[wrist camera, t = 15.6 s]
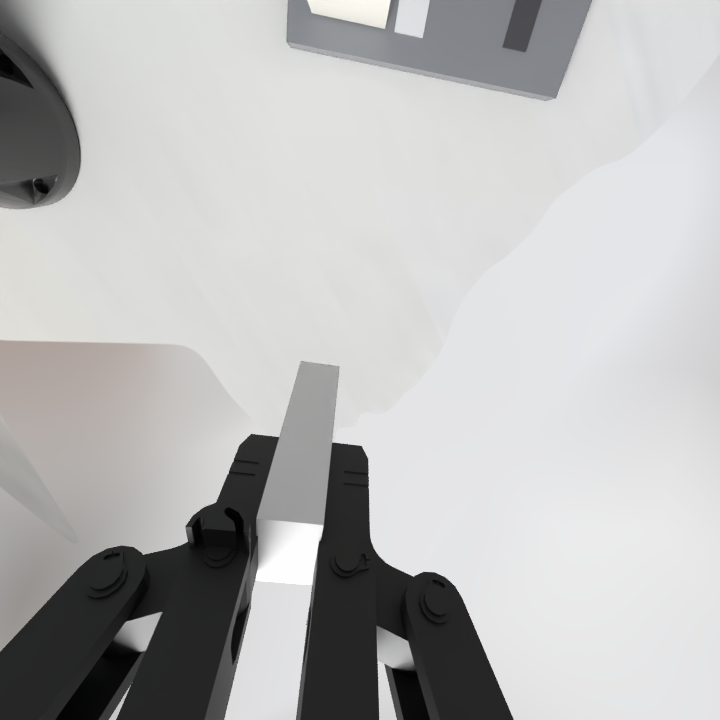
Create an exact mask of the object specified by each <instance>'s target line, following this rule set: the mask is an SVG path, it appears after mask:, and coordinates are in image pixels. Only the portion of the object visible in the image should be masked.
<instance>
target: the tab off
mask: <svg viewBox="0 0 720 720" xmlns="http://www.w3.org/2000/svg"><path fill="white" fill-rule="evenodd" d="M307 1H308V4H309V7H310V9H311V12H312V13H314V14H318V15H323V16H328V17H332V18H337V19H341V20H346V21H350V22H355V23H360V24H364V25H369V26H373V27H378V28H383V29H385V26H386V21H387V16H388V11H389V6H390V1H391V0H307Z"/></svg>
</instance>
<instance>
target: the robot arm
mask: <svg viewBox="0 0 720 720" xmlns="http://www.w3.org/2000/svg"><path fill="white" fill-rule="evenodd" d="M79 165H80V150H79V143H78V138H77V134H76V130H75V127H74V124H73V121H72V119H71V116H70V114H69V112H68V109H67V107H66V105H65V103H64V101H63V100H62V98H61V96H60V94H59V93H58V91H57V90H56V88H55V87H54V85H53V84H52V82H51V81H50V79H49V78H48V77H47V76H46V74H45V73H44V72H43V71H42V69H41V68H40V67H39V66H38V65H37V64H36V63H35V62H34V61H33V60H32V59H31V58H30V57H29V56H28V55H27V54H26V53H25V52H24V51H23V50H22V49H21V48H20V47H18V46H17V45H16V44H15V43H13V42H12V41H11V40H9V39H8V38H7V37H5V36H4V35H2V34H1V33H0V207H1V208H8V209H30V208H35V207H41V206H46V205H50V204H53V203H55V202H57V201H59V200H61V199H62V198H64V197H65V196H66V195H67V194H68V193H69V192H70V190H71V189H72V187H73V186H74V184H75V182H76V179H77V176H78V172H79ZM339 367H340V366H333V365H325V364H318V363H311V362H303V361H301V363H300V366H299V370H298V373H297V377H296V380H295V384H294V387H293V391H292V394H291V398H290V401H289V405H288V409H287V412H286V416H285V419H284V423H283V426H282V430H281V433H280V437H272V436H263V435H255V434H251V435H250V436H249V437H248V438H247V439H246V440H245V441H244V442H243V443H242V444H241V445H240V446H239V448H238V451H237V453H236V456H235V458H234V462H233V463H232V465H231V468H230V470H229V474H228V475H227V478H226V480H225V482H224V485H223V487H222V490H221V492H220V495H219V497H218V500H217V502H216V503H214V504H212V505H209V506H207V507H204V508H203V509H201V510H200V511H199V512H197V513H196V514H195V515H193V517H192V518H191V519H190V521H189V522H188V524H187V525H186V532H187V537H188V542H187V543H185V544H183V545H181V546H178V547H175V548H172V549H168V550H163V551H159V552H154V553H150V554H145V555H143V554H142V553H141V552H139V551H138V550H137V549H135V548H134V547H128V546H118V547H113V548H109V549H106V550H104V551H102V552H100V553H98V554H96V555H94V556H92V557H91V558H90V559H89V560H88V561H86V562H85V563H84V564H83V565H82V566H80V567H79V568H78V569H77V571H76V572H75V573H74V574H73V575H72V576H71V577H70V578H69V579H68V580H67V581H66V582H65V583H64V584H63V586H61V588H60V589H59V590H58V591H57V592H56V593H55V594H54V595H53V596H52V597H51V598H50V600H48V601H47V603H46V604H45V605H44V606H43V607H42V608H41V609H40V610H39V611H38V612H37V613H36V614H35V615H34V617H33V618H32V619H31V620H30V621H29V622H28V623H27V624H26V625H25V626H24V627H23V628H22V629H21V631H19V632H18V634H17V635H16V636H15V637H14V638H13V639H12V640H11V641H10V642H9V643H8V644H7V645H6V646H5V648H3V650H2V651H1V652H0V720H109V718H110V717H111V715H112V714H113V712H114V710H115V709H116V707H117V706H118V704H119V702H120V701H121V699H122V697H123V696H124V694H125V693H126V691H127V690H128V688H129V686H130V685H131V687H130V689H129V691H128V694H127V696H126V698H125V701H124V703H123V705H122V708H121V710H120V712H119V715H118V717H117V719H116V720H224V718H225V714H226V709H227V705H228V701H229V696H230V692H231V688H232V684H233V680H234V676H235V672H236V667H237V663H238V659H239V655H240V651H241V646H242V642H243V638H244V634H245V629H246V625H247V621H248V617H249V613H250V609H251V594H252V590H253V586H254V582H255V578H256V580H257V581H268V582H280V583H292V584H306V585H312V592H311V602H310V607H309V613H308V618H307V624H306V625H307V630H306V639H305V647H304V656H303V665H302V674H301V682H300V690H299V699H298V707H297V716H296V720H379V698H378V669H377V668H378V666H377V665H378V664H377V660H379V661H380V662H382V663H384V664H385V668H386V673H387V677H388V682H389V686H390V691H391V695H392V699H393V704H394V708H395V712H396V717H397V720H513V717H512V715H511V713H510V710H509V708H508V705H507V703H506V701H505V698H504V696H503V694H502V691H501V689H500V687H499V684H498V682H497V679H496V677H495V675H494V672H493V670H492V668H491V665H490V663H489V661H488V659H487V656H486V653H485V651H484V649H483V646H482V644H481V642H480V639H479V637H478V635H477V632H476V630H475V628H474V625H473V623H472V620H471V618H470V616H469V613H468V611H467V609H466V606H465V604H464V602H463V599H462V597H461V596H460V594H459V592H458V591H457V589H456V587H455V586H454V585H453V584H452V583H451V582H450V581H449V580H447V579H446V578H445V577H443V576H441V575H439V574H437V573H433V572H423V573H420V574H418V575H416V576H414V577H413V576H411V575H408V574H406V573H404V572H402V571H400V570H398V569H396V568H393V567H392V566H390V565H388V564H386V563H385V562H384V561H383V560H382V559H381V558H380V557H379V556H378V554H377V553H376V551H375V550H374V548H373V545H372V543H371V539H370V526H369V524H370V523H369V488H368V486H369V480H368V479H369V477H368V458H367V456H366V454H365V452H364V450H363V448H362V446H356V445H348V444H340V443H332V437H333V427H334V417H335V407H336V397H337V387H338V377H339ZM131 683H132V684H131Z"/></svg>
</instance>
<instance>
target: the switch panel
mask: <svg viewBox="0 0 720 720" xmlns="http://www.w3.org/2000/svg"><path fill="white" fill-rule="evenodd" d="M591 2H592V0H391V1H390V6H389V11H388V16H387V21H386V26H385V29H383V28H378V27H373V26H369V25H364V24H360V23H355V22H350V21H346V20H341V19H337V18H332V17H328V16H323V15H318V14H314V13H312V12H311V9H310V7H309V4H308V1H307V0H288V13H287V41H286V42H287V43H288V45H289V46H290V47H291V48H295V49H299V50H304V51H309V52H314V53H319V54H323V55H328V56H333V57H338V58H343V59H347V60H352V61H357V62H362V63H367V64H371V65H376V66H381V67H386V68H390V69H395V70H400V71H405V72H410V73H414V74H419V75H424V76H429V77H434V78H438V79H443V80H448V81H453V82H458V83H462V84H467V85H472V86H477V87H481V88H486V89H491V90H496V91H501V92H505V93H510V94H515V95H520V96H525V97H529V98H534V99H539V100H544V101H547V100H551V99H555V98H556V97H557V94H558V91H559V88H560V86H561V83H562V80H563V78H564V75H565V72H566V69H567V67H568V64H569V61H570V59H571V56H572V53H573V51H574V48H575V45H576V42H577V40H578V37H579V34H580V32H581V29H582V26H583V23H584V21H585V18H586V15H587V13H588V10H589V7H590V4H591Z"/></svg>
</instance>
